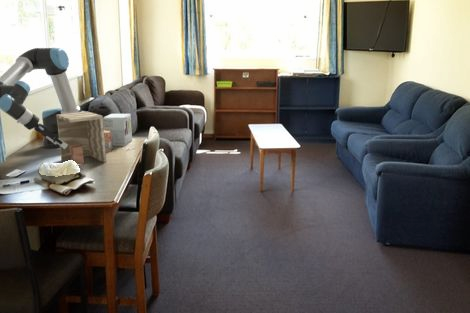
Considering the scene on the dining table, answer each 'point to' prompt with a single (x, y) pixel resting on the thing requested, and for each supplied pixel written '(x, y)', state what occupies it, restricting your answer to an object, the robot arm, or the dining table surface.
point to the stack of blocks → (107, 141)
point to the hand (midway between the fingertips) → (61, 144)
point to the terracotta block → (77, 153)
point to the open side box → (82, 134)
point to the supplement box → (119, 128)
